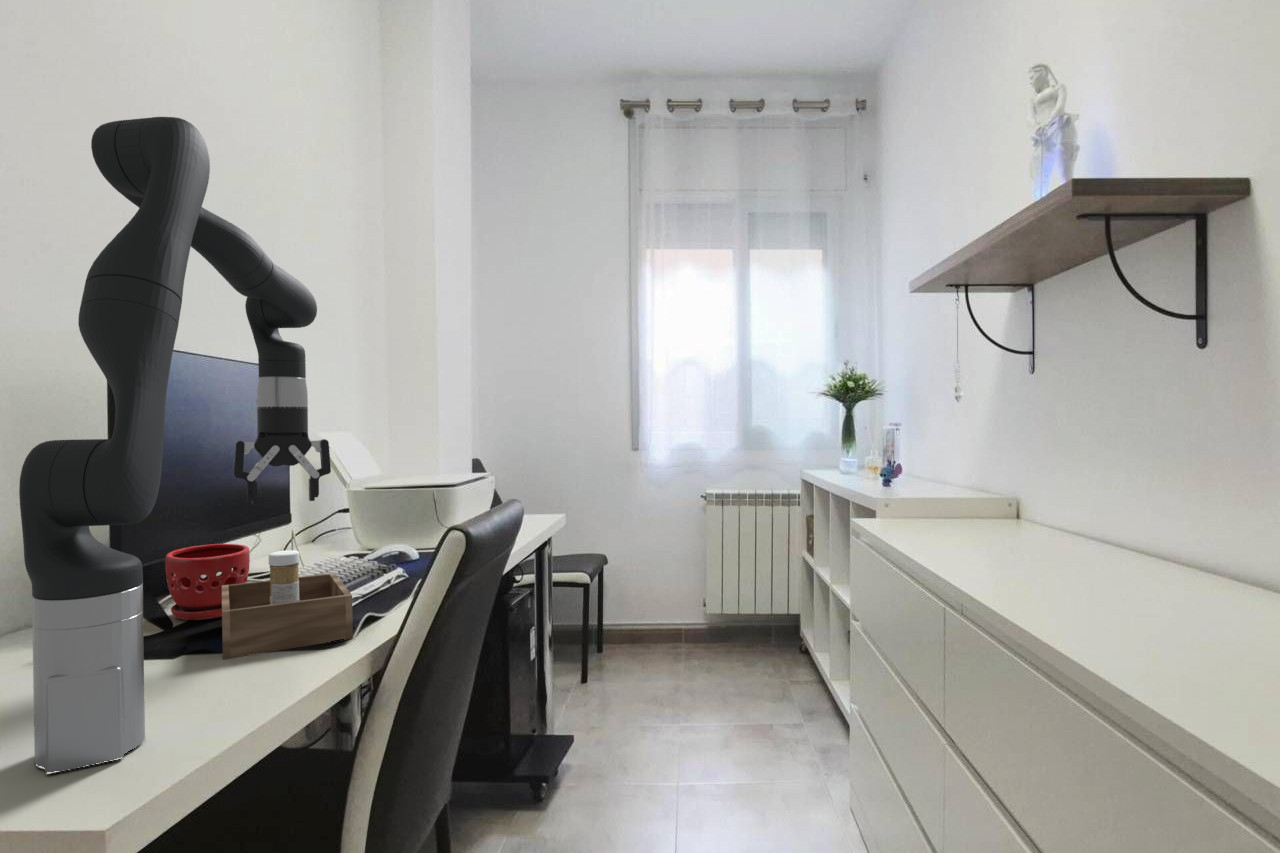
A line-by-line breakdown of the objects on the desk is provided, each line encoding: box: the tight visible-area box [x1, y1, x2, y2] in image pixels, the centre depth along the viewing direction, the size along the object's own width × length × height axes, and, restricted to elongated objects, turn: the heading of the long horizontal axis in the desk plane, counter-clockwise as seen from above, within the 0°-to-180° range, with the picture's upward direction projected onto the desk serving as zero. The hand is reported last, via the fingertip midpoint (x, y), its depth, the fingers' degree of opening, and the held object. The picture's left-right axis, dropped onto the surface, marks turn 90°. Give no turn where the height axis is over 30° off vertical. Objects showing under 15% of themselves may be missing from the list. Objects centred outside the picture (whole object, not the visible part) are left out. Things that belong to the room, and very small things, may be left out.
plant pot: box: [165, 543, 251, 621], centre depth 126 cm, size 13×13×12 cm
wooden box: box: [221, 572, 354, 660], centre depth 115 cm, size 20×18×7 cm
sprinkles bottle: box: [268, 549, 300, 604], centre depth 115 cm, size 5×5×13 cm
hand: (283, 502), depth 115 cm, fingers open, 8 cm apart
